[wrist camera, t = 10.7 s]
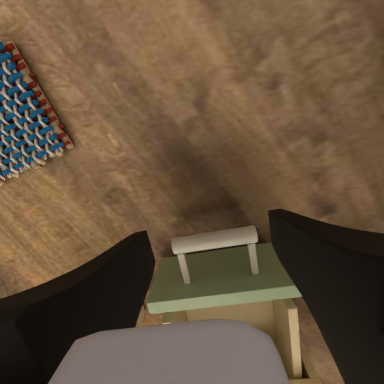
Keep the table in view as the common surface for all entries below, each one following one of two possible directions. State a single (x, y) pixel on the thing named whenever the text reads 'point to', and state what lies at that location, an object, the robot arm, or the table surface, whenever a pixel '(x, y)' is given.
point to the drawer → (230, 288)
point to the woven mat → (25, 118)
